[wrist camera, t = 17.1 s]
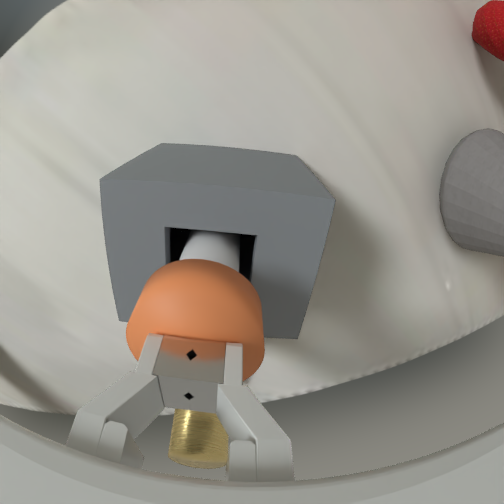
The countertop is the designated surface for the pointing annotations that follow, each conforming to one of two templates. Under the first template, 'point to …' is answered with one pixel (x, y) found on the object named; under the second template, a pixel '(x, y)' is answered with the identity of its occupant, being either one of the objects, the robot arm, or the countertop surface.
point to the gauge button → (202, 299)
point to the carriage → (198, 440)
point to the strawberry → (490, 28)
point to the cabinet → (219, 222)
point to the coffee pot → (475, 192)
